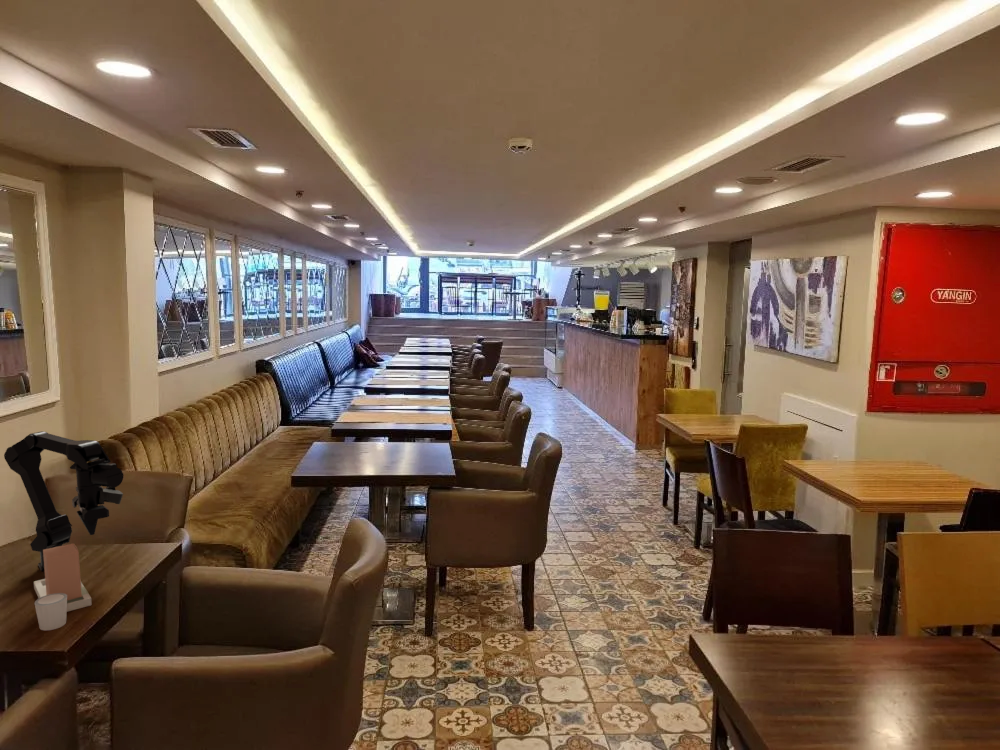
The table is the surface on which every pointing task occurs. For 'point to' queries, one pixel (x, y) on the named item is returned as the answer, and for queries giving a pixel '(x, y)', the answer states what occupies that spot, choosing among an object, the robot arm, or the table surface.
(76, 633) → the table surface
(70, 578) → the terracotta block
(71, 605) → the trap board
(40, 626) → the white cup
